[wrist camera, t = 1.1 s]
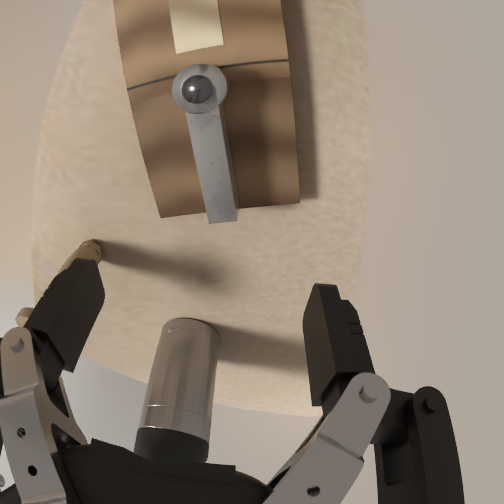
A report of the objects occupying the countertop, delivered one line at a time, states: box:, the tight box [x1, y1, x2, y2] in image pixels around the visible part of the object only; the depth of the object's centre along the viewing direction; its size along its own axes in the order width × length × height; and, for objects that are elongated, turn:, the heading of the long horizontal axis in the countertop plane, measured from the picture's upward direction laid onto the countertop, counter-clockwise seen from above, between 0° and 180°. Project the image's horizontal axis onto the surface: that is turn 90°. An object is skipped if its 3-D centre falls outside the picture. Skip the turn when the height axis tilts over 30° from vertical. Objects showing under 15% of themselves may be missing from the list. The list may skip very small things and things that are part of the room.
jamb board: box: [113, 0, 300, 218], centre depth 21 cm, size 24×14×2 cm, turn 7°
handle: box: [15, 240, 102, 327], centre depth 27 cm, size 5×6×15 cm
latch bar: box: [172, 64, 239, 224], centre depth 22 cm, size 14×4×4 cm, turn 7°
